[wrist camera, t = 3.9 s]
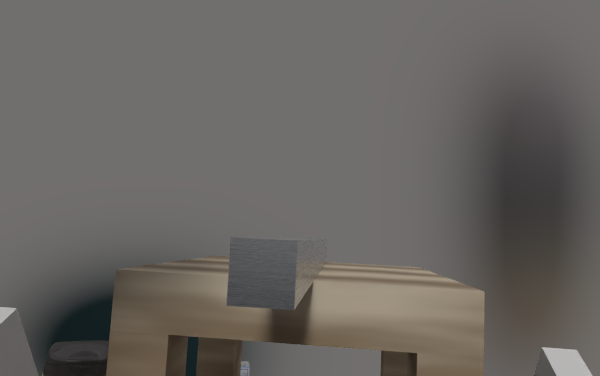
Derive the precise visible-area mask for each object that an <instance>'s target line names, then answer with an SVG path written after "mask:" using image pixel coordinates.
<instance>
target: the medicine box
mask: <svg viewBox="0 0 600 376" xmlns="http://www.w3.org/2000/svg"><path fill="white" fill-rule="evenodd" d="M249 371H250V367H249V362H242V361H241V372H240V376H249Z"/></svg>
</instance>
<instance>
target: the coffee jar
mask: <svg viewBox="0 0 600 376" xmlns="http://www.w3.org/2000/svg"><path fill="white" fill-rule="evenodd" d="M108 350H109V341H73V342H56V343H55V344H54V345H52V347H51V348H50V350H49V353H48V356H47V359H46V363H45V366H44V370H43V373H42V376H106V372H107V361H108Z"/></svg>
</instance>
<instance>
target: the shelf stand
mask: <svg viewBox="0 0 600 376" xmlns="http://www.w3.org/2000/svg"><path fill="white" fill-rule="evenodd" d="M229 258H230V257H225V256H211V257H203V258H196V259H188V260H182V261H174V262H166V263H159V264H152V265H144V266H137V267H131V268H122V269H116V274H115V285H114V296H113V308H112V318H111V328H110V339H109V350H108V361H107V372H106V376H185V368H186V355H187V340H188V336H195V337H199V344H198V357H197V371H196V376H240V372H241V355H242V340H247V341H261V342H275V343H289V344H301V345H315V346H328V347H342V348H356V349H370V350H381V376H484V291H481V290H479V289H475V288H473V287H470V286H468V285H465V284H462V283H460V282H457V281H454V280H452V279H449V278H446V277H443V276H441V275H438V274H436V273H433V272H430V271H428V270H425V269H422V268H419V267H403V266H384V265H367V264H348V263H331V262H326V263H325V265H324V266H323V268H322V269H321V271H320V272H319V274H318V275H317V277H316V278H315V280H314V281H313V283H312V284H311V286H310V287H309V289H308V290H307V292H306V293H305V295H304V296H303V298H302V299H301V301H300V302H299V304H298V305H297V307H296V308H295V310H282V309H267V308H253V307H238V306H226V303H227V288H228V273H229Z"/></svg>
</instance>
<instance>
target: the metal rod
mask: <svg viewBox="0 0 600 376" xmlns="http://www.w3.org/2000/svg"><path fill="white" fill-rule="evenodd" d="M326 248H327V240H326V239H311V238H258V237H256V238H255V237H231V244H230V258H229V273H228V288H227V303H226V306H238V307H253V308H267V309H282V310H295V308H296V307H297V305H298V304H299V302H300V301H301V299H302V298H303V296H304V295H305V293H306V292H307V290H308V289H309V287H310V286H311V284H312V283H313V281H314V280H315V278H316V277H317V275H318V274H319V272H320V271H321V269H322V268H323V266H324V265H325V263H326Z"/></svg>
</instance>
